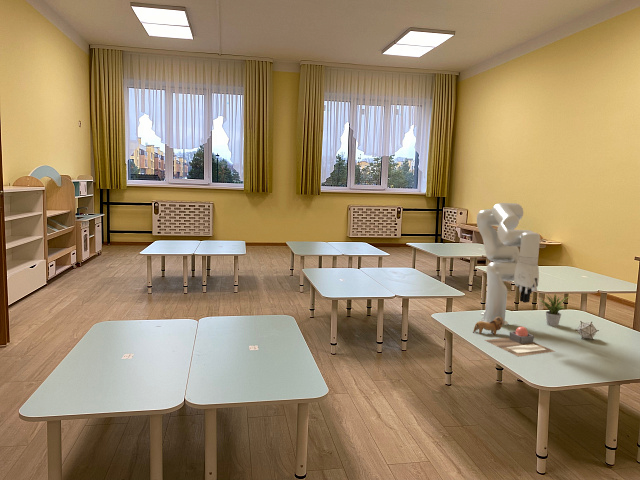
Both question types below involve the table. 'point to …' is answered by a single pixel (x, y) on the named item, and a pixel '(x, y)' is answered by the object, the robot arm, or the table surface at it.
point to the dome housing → (521, 338)
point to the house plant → (553, 311)
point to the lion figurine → (489, 325)
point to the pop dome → (521, 331)
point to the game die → (586, 330)
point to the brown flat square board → (519, 347)
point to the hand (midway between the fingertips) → (524, 301)
